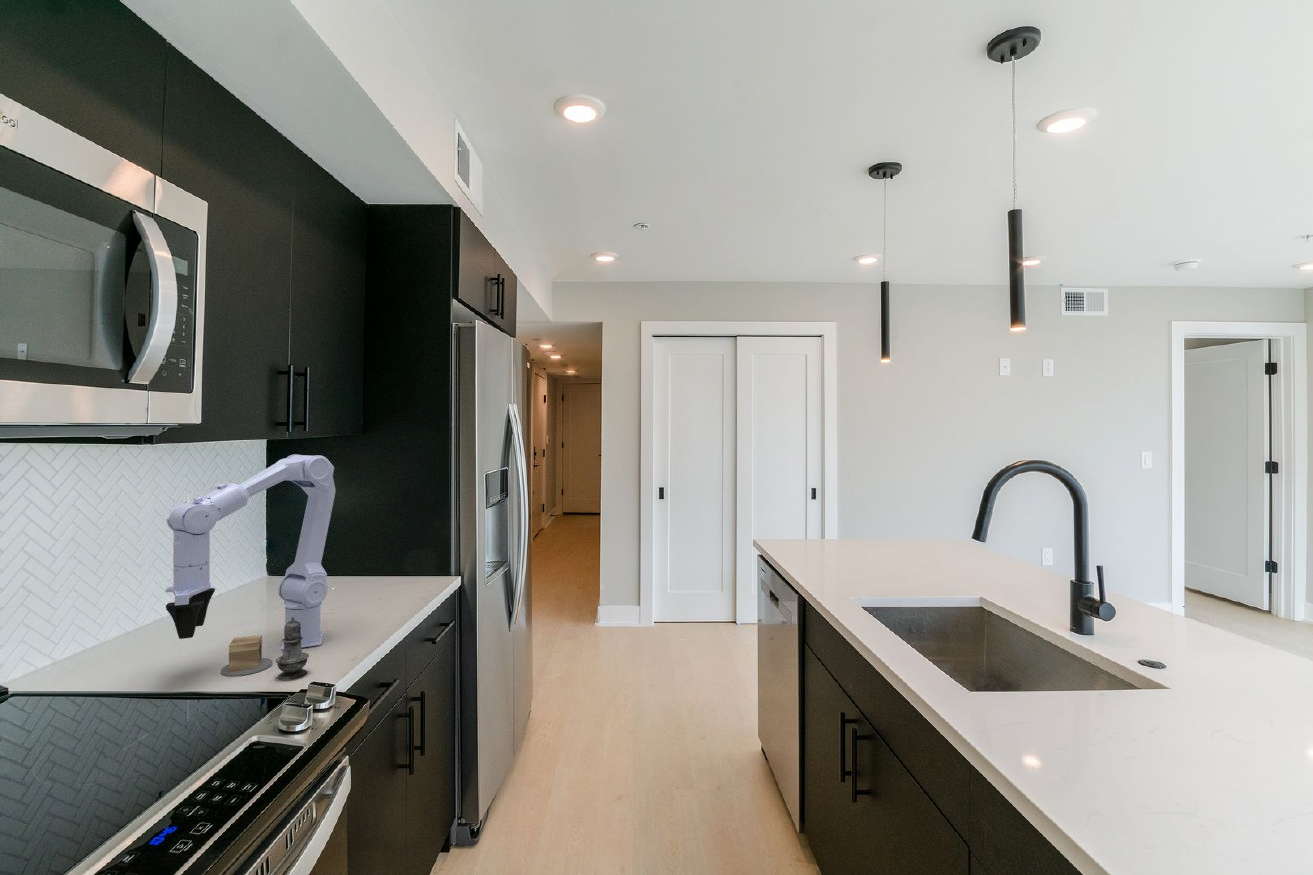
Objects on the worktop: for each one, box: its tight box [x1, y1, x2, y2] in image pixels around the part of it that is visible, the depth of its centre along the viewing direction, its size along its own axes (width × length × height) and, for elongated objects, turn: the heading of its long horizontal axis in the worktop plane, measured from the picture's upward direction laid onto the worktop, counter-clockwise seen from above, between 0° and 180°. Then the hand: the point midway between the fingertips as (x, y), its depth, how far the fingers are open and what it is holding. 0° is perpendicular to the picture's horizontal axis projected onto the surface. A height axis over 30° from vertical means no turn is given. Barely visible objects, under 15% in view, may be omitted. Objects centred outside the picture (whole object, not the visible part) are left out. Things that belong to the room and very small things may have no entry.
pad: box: [220, 657, 274, 677], centre depth 125 cm, size 9×9×1 cm
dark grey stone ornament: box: [275, 617, 310, 681], centre depth 122 cm, size 6×6×12 cm
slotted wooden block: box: [228, 634, 263, 672], centre depth 125 cm, size 5×5×6 cm
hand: (191, 631), depth 119 cm, fingers open, 7 cm apart
